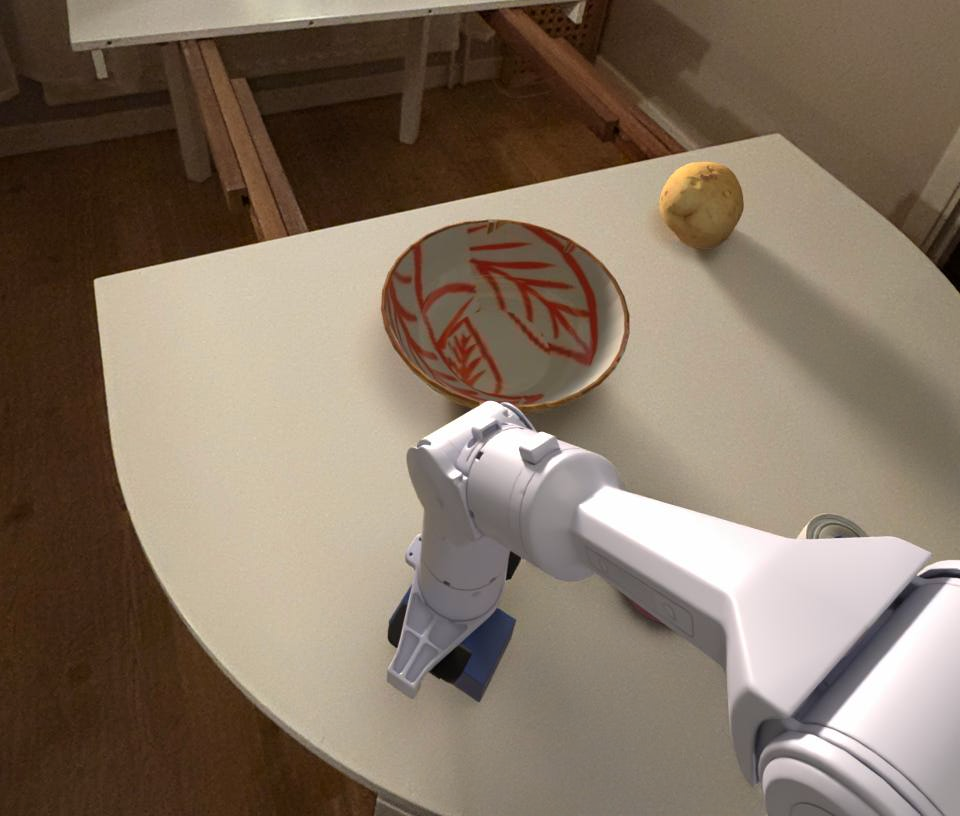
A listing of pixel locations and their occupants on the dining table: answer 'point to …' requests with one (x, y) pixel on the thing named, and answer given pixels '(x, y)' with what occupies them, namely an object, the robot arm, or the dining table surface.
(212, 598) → the dining table surface
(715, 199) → the potato
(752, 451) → the dining table surface
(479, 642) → the block
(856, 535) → the beverage can
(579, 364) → the bowl
